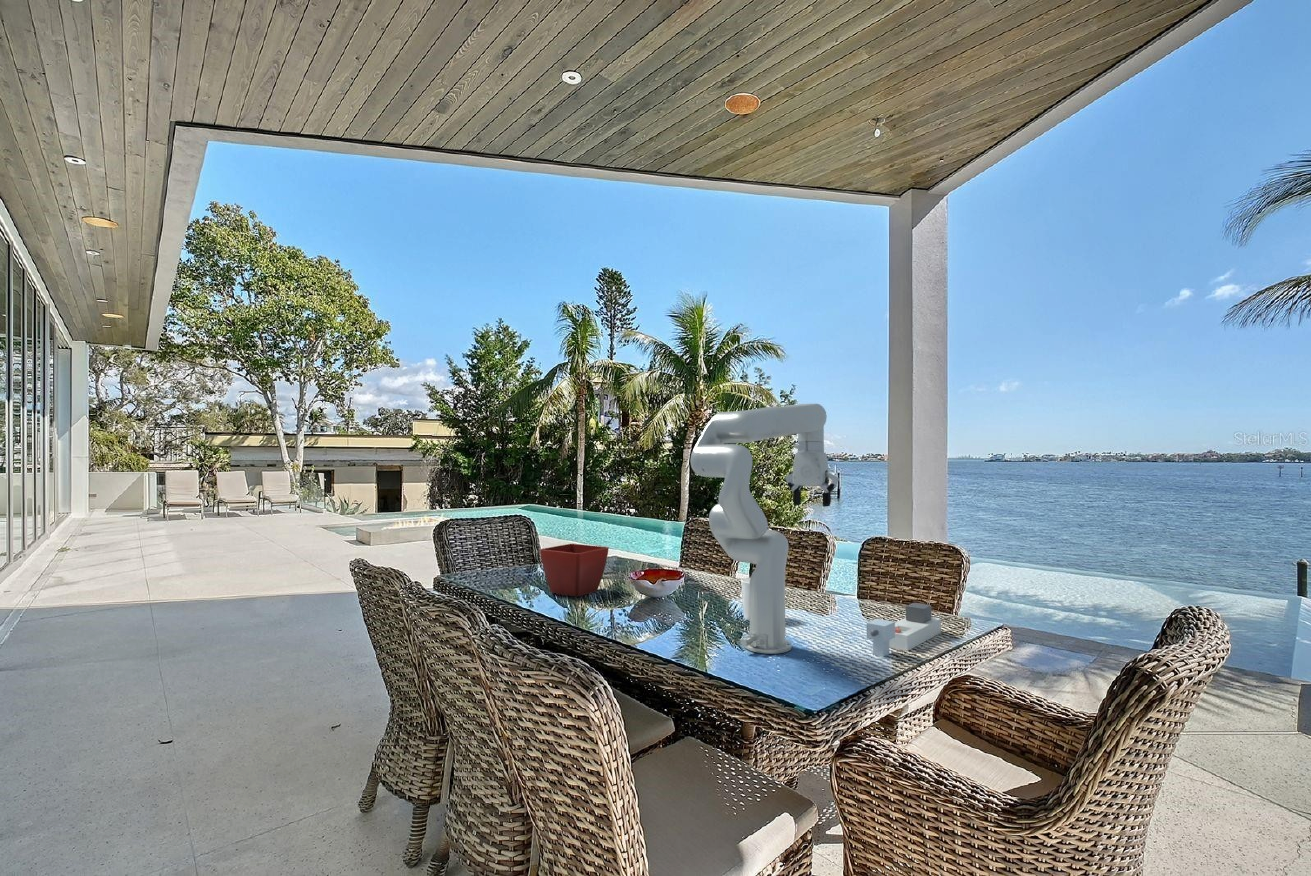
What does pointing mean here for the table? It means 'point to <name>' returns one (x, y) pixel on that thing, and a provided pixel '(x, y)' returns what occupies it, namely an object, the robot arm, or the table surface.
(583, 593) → the plant pot
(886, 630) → the grey plug
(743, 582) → the candle holder
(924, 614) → the dark grey block
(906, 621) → the power strip
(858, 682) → the table surface
